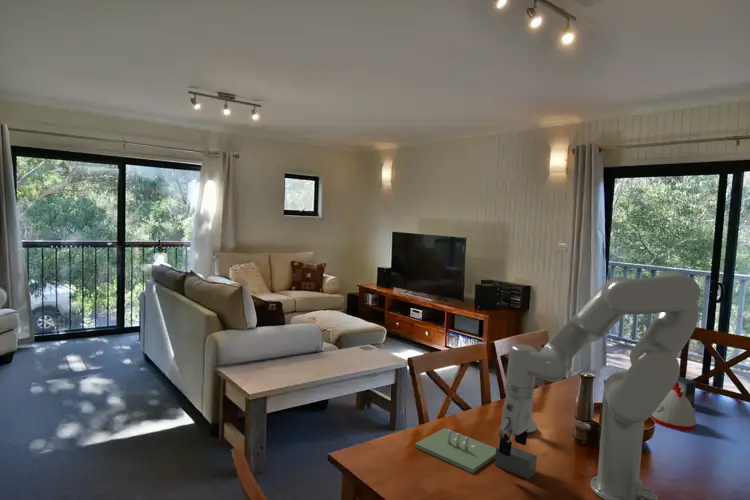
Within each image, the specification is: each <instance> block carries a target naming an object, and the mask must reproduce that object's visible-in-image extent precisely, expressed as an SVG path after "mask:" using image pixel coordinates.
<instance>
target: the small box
mask: <svg viewBox="0 0 750 500" xmlns="http://www.w3.org/2000/svg"><path fill="white" fill-rule="evenodd" d="M677 383H679V387H680V388H681V391H680V392H683V395H685V396H686V398H687V399H688V400H689V402H690V403H691V405H692V407H693V408H695V394H696V387H697V386H696V385H697V381H696V380H695V381H694V380H692V379H689V378H686V377H683V376H680V375H679V377H678V380H677Z"/></svg>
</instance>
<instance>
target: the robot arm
mask: <svg viewBox="0 0 750 500" xmlns="http://www.w3.org/2000/svg"><path fill="white" fill-rule="evenodd" d="M700 299H701V287H700V286H699V284H698V283H697V282H696V280H695V279H694V278H692V277H691V276H688V275H687V274H684V273H681V272H680V271H676V270H675V271H674V270H665V271H662V272H660V273H659V274H657V275H656V276H655V277H646V278H645V277H644V278H631V279H630V278H628V277H625V276H615V277H614V276H613V277H611V278H610V279H608V280H607V281H606V282H605V283H603V285H602V286H600V288H599V289H598V290H597V292H595V293H594V295H593V296H592V297H590V299H589V300H588V301H586V303H585V304H584V305H583V306H582V307H581V308H580V309H579V311H577V312H576V314H574V315H573V317H571V318H570V319H568V320H569V321H567V323H566V324H564V326H562V327H561V328H560V329H559V330H558V331H557V332H556V333H555V335H553V337H552V338H550V339H549V341H548V342H547V343H546V344H545V345H544V346H543V347H542V348H541V350H540V351H538V350H537V349H536V348H535V347H534V346H531V345H529V344H528V345H527V344H521V343H520V344H518V343H516V344H513V345H511V347H510V348H509V351H508V352H509V355H508V363H507V372H506V381H505V387H504V389H505V390H504V393H505V395H506V396H505V400H504V404H503V408H502V413H501V421H500V423H501V424H500V427H499V428H498V431H499V433H498V434H499V445H498V446H499V453H501V454H504V455H506V456H508V457H509V456H510V454H511V446H512V444H513V442H512V439H513V436H514V435H515V437H514V441H515V443H517V444H519V445H522V446H526V445H527V441H528V440H527V438H528V433H527V432H526V431H528V428H530V426H531V422H532V419H533V408H534V407H533V398H534V391H535V385H536V384H535V383H536V377H538V378H539V379H542V380H544V381H548V382H560V381H562V380H563V379H564V378H565V377H566V375H567V372H568V363H569V362H570V360H572V358H574V356H575V355H576V354H578V352H580V350H582V349H583V348H584V347H586V346H587V345H588V344H589V345H590V343H593V342H596V341H599V340H600V339H602V338H604V337H605V336H606V335H607V333H608V332H609V331H610V330H611V329H612V328H613V327H614V326H615V325H616V324H617V323H618V322H619V321H620V320H622V318H623V317H624V316H625V315H648V314H655V317H654V319H653V321H652V322H651V323H650V325H649V326H648V328H647V329H646V331H645V332H644V333H643V335H641V338H640V339H639V340H638V341H637V342H636V343H635V345H634V346H633V347H632V349H631V350H630V353H629V362H630V364H631V365H630V367H629V368H628V370H627V371H616V372H614V373H612V374H611V375H609V376H608V377H607V379H606V380H605V382H604V386H603V392H602V393H603V394H602V418H601V429H600V440H599V441H600V442H599V443H600V444H599V455H598V464H597V466H598V467H597V475H596V476H593V477H592V478H591V480H590V485H589V486H590V488H591V490H592V492H593V493H594V494H596V495H597V497H600V498H601V499H603V500H658V498H659V497H658V495H657V494H655V490H653V489H651V488H649V487H645V485H643V479H642V478H640V472H641V461H642V460H641V459H642V449H643V440H644V428H645V421H647V420H648V419H649V418H651V415H652V414H653V413H654V411H655V410H656V409H657V408H658V406H659V405H660V404H661V402H662V401H663V400H664V399H665V397H666V396H667V395H668V393H669V392H670V391H671V389H672V388H673V387H674V385H675V384H676V382H677V380H678V377H679V376H680V374H681V373H680V372H681V367H680V362H679V360H678V356H679V355H680V352H682V350H683V349H684V348H685V346H686V344H687V342H688V341H689V340H690V338H691V337H692V335H693V333H694V332H695V329H696V327H697V324H698V320H699V306H698V302H699V300H700ZM535 376H536V377H535ZM508 428H510V429H511V430H510V429H508ZM508 434H509V435H508ZM512 447H513V446H512Z"/></svg>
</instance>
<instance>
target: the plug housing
mask: <svg viewBox="0 0 750 500" xmlns="http://www.w3.org/2000/svg"><path fill="white" fill-rule="evenodd" d="M495 448H496V456H495V458H494V460H495V461H494V466H495V467H499V468H500V469H504V471H505V470H506V471H508V472H510V473H513V474H514V475H518V476H519V477H522V478H524V479H527V480H529V479H530V478H532V477H533V476H534V475H535V474H536V473H537V470H536V468H537V457H538V456H537V455H536V454H533V453H530V452H528V451H525V450H522V449H521V448H518V447H515V446H511V454H510V456H509V457H508V456H506V455H504V454H501V453H499V445H498V446H497V447H495Z"/></svg>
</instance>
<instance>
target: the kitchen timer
mask: <svg viewBox="0 0 750 500" xmlns="http://www.w3.org/2000/svg"><path fill="white" fill-rule="evenodd" d="M680 391H681V388H680V387H679V383H677V382H676V384H675V385H674V387H673V388H672V389H671V391H670V392H669V393H668V395H667V396H666V397H665V399H664V400H663V401H662V402H661V404H660V405H659V406H658V408H657V409H656V410H655V411H654V413H653V414H652V415H651V416H650V419H651V418H653V420H654V421H653V423H655V424H656V425H659V426H662V427H664V428H668V429H670V430H675V431H682V432H683V431H684V432H685V431H686V432H691V431H695V429H696V426H697V420H696V407H692V405H691V403H690V402H689V400H688V399H687V398H686V396H685V395H683V392H680Z"/></svg>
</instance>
